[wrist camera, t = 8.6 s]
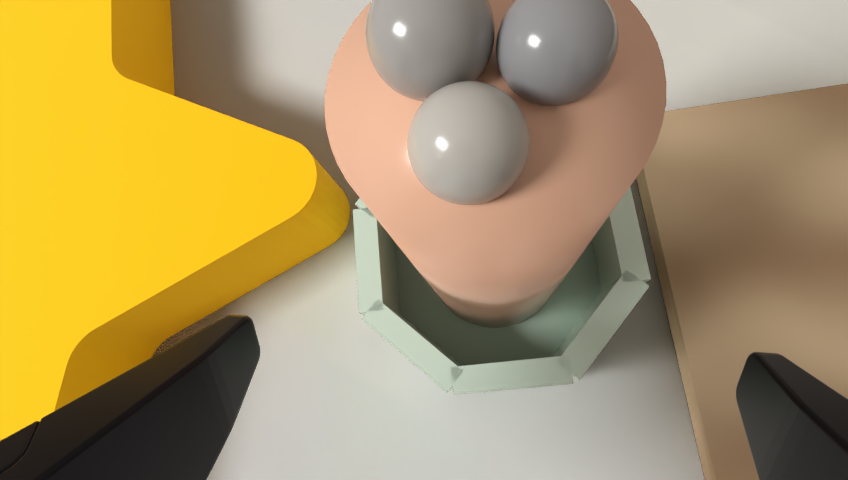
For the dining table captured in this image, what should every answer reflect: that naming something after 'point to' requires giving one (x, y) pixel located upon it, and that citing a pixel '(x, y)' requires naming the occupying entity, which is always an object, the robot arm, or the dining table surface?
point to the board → (750, 250)
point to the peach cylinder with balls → (494, 136)
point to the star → (127, 200)
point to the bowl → (508, 346)
